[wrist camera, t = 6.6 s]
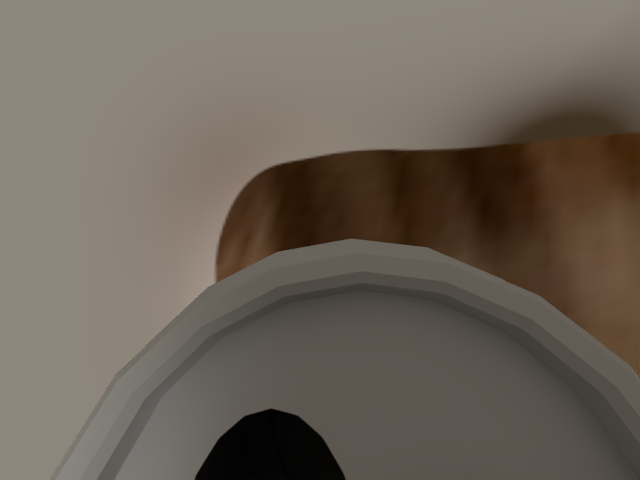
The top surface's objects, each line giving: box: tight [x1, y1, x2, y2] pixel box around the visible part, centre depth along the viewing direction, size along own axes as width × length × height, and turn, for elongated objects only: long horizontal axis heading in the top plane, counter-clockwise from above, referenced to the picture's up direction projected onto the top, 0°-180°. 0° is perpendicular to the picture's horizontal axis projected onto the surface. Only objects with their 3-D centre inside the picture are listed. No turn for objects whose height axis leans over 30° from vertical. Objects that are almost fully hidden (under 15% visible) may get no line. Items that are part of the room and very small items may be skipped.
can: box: [51, 239, 640, 480], centre depth 8 cm, size 8×8×12 cm
